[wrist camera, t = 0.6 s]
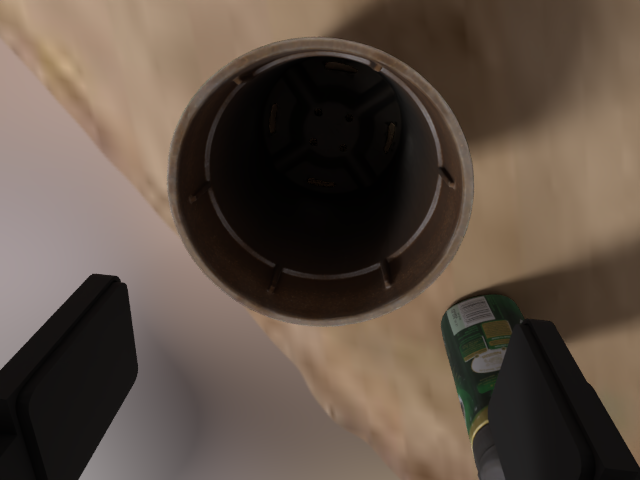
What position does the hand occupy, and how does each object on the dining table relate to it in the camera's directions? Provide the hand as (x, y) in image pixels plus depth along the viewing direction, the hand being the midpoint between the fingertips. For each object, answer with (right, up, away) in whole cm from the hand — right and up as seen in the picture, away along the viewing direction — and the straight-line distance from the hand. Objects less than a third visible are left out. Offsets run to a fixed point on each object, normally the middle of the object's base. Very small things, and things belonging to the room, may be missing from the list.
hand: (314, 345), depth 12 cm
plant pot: (+1, +12, +28) cm, 31 cm away
